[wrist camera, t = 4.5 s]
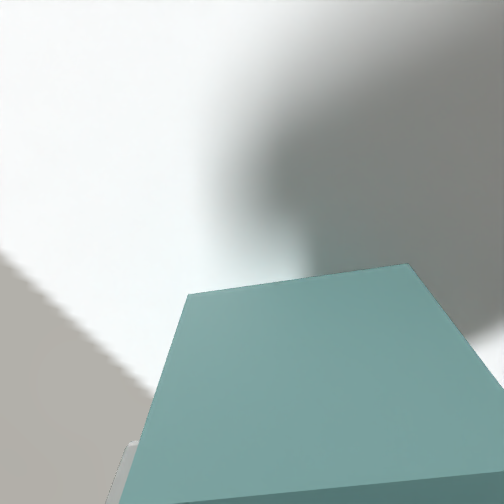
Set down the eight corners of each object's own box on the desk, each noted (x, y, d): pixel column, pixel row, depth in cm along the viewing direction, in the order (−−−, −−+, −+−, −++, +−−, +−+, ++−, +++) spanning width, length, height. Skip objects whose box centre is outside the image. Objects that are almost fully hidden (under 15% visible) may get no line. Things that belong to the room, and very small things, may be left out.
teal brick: (188, 294, 9) (116, 509, 5) (408, 263, 9) (561, 465, 4) (237, 483, 12) (221, 750, 7) (413, 464, 11) (518, 736, 7)
